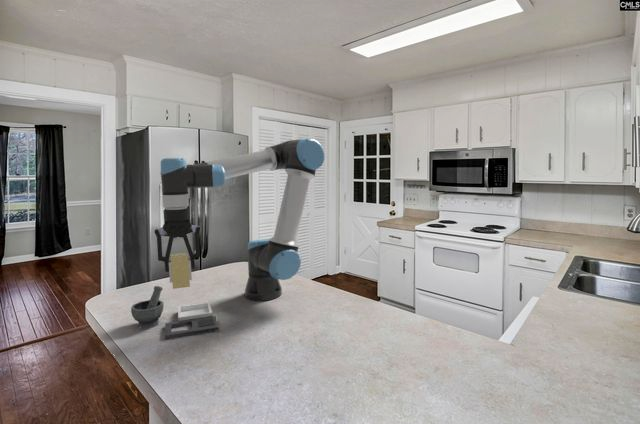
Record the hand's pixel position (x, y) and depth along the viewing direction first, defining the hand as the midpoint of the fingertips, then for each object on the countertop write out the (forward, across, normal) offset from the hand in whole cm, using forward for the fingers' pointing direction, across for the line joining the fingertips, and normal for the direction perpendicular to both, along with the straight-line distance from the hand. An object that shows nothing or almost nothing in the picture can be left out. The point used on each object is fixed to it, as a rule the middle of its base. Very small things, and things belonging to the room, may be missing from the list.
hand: (180, 279), depth 116 cm
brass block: (+2, 0, 0) cm, 2 cm away
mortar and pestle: (+17, +10, -9) cm, 22 cm away
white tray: (+17, -4, -10) cm, 20 cm away
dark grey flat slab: (+16, -2, +1) cm, 17 cm away
